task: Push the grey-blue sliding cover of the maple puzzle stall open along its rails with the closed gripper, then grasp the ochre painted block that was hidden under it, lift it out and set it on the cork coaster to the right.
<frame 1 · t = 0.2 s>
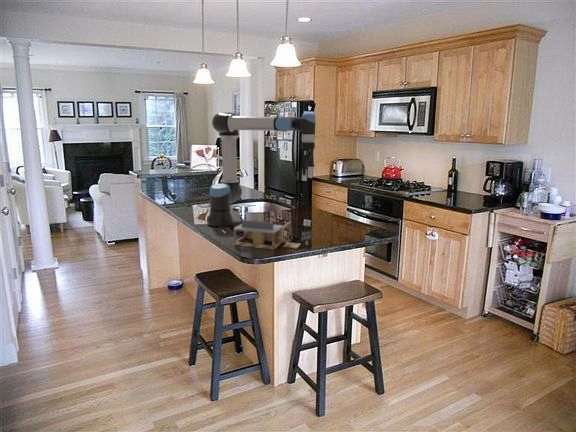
hand: (307, 179, 250), 28 cm above the counter, fingers open, 13 cm apart
cork coaster: (292, 245, 215), on the counter
cover: (258, 224, 216), point 10 cm above the counter, slide at 0.0 cm
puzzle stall: (258, 243, 218), on the counter
ochre block: (258, 243, 218), resting in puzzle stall
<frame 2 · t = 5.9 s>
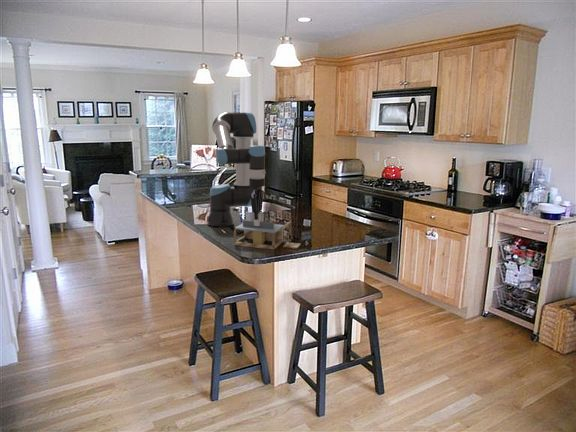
hand: (257, 225, 214), 10 cm above the counter, fingers closed
cover: (259, 224, 217), point 10 cm above the counter, slide at 1.3 cm, touching gripper
everything else where it was.
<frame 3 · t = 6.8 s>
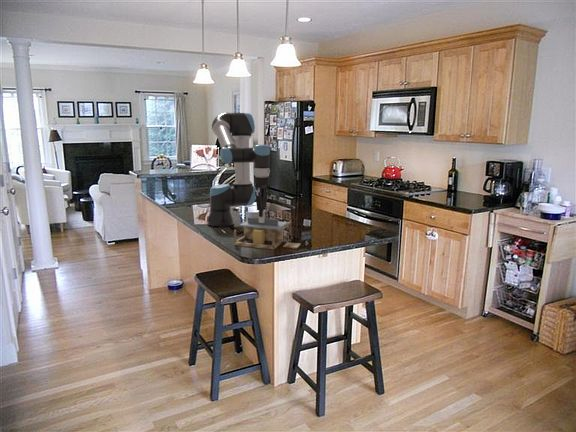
hand: (261, 222, 220), 10 cm above the counter, fingers closed
cover: (264, 221, 223), point 10 cm above the counter, slide at 7.9 cm, touching gripper
everything else where it was.
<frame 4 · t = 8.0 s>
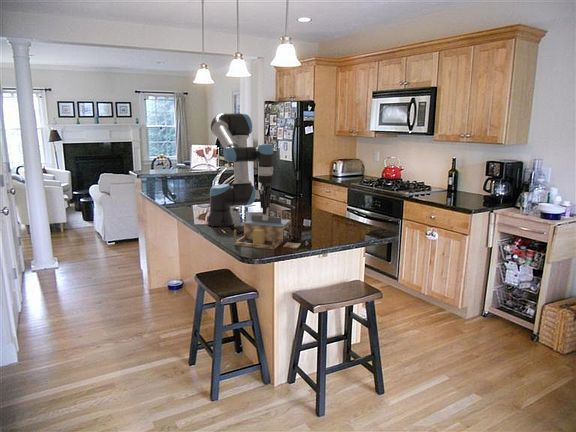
hand: (265, 220, 225), 10 cm above the counter, fingers closed
cover: (267, 219, 228), point 10 cm above the counter, slide at 13.1 cm, touching gripper
everything else where it was.
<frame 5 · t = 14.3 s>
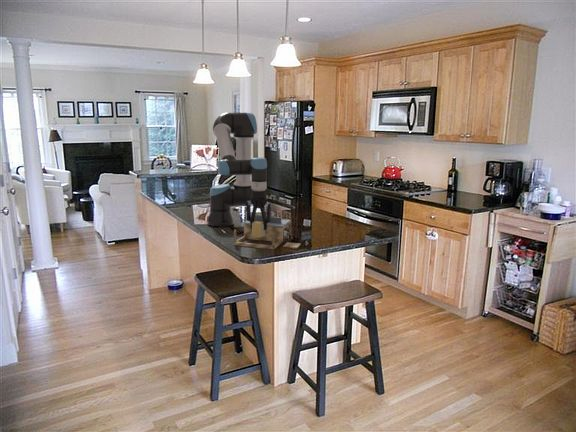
hand: (258, 235, 218), 4 cm above the counter, fingers closed on ochre block, 4 cm apart
cover: (267, 219, 228), point 10 cm above the counter, slide at 13.2 cm
ochre block: (258, 236, 218), point 4 cm above the counter, touching gripper
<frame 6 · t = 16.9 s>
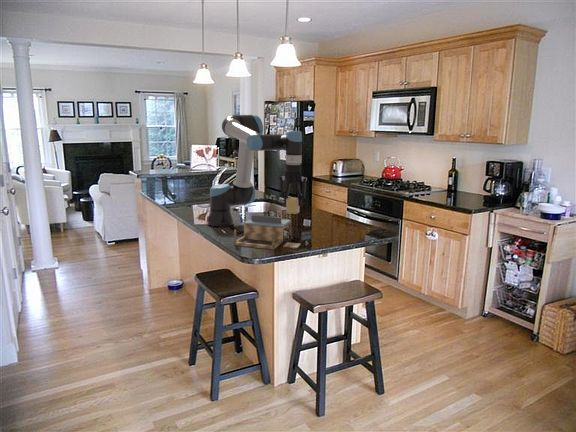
hand: (292, 211, 211), 17 cm above the counter, fingers closed on ochre block, 4 cm apart
ochre block: (292, 212, 211), point 17 cm above the counter, touching gripper
everything else where it was.
when the fingers open (2 cm above the counter, at t = 19.8 s): ochre block stays where it is, resting on cork coaster.
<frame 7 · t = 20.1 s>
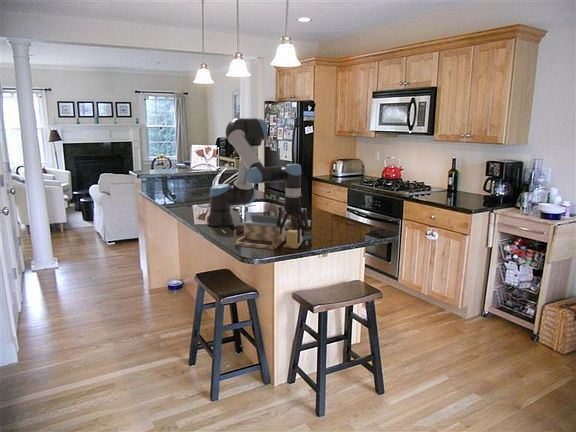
hand: (292, 241, 214), 2 cm above the counter, fingers open, 8 cm apart
ochre block: (291, 244, 215), point 1 cm above the counter, touching cork coaster
everything else where it was.
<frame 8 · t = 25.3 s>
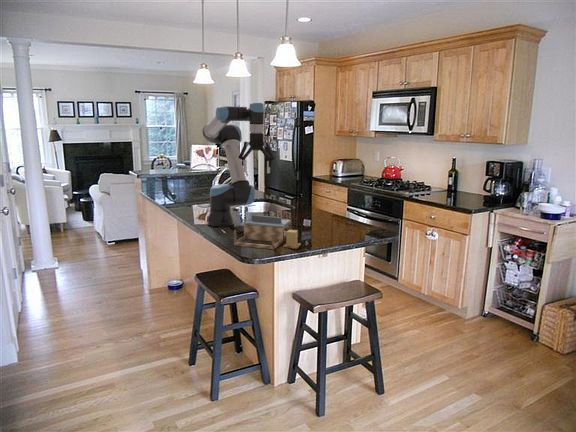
hand: (256, 172, 235), 33 cm above the counter, fingers open, 13 cm apart
nothing on the counter moved.
at the end: cover slide at 13.2 cm; ochre block inside the target area on the cork coaster (0.1 cm from its centre), point 0.6 cm above the cork coaster's base; ochre block tilted 0° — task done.
